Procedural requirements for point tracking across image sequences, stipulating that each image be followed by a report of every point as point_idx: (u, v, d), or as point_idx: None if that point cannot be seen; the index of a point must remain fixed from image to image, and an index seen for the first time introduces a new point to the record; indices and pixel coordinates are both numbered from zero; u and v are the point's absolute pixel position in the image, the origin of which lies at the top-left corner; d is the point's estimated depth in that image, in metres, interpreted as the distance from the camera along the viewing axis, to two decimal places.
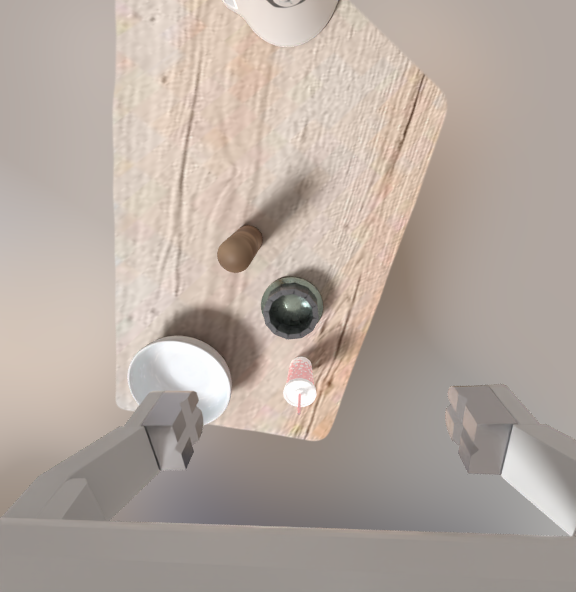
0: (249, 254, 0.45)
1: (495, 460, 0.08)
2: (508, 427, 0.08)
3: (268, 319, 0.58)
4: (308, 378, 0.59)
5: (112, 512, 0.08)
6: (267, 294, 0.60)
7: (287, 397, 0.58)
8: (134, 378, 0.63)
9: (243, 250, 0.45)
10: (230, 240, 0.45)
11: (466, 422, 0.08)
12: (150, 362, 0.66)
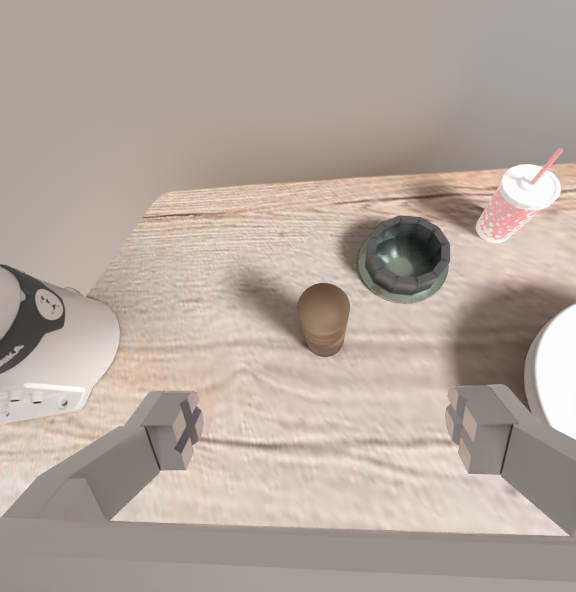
0: (314, 286, 0.31)
1: (495, 460, 0.08)
2: (508, 427, 0.08)
3: (428, 274, 0.38)
4: (497, 189, 0.38)
5: (112, 512, 0.08)
6: (395, 296, 0.41)
7: (549, 198, 0.35)
8: None
9: (311, 295, 0.31)
10: (301, 315, 0.30)
11: (466, 422, 0.08)
12: None
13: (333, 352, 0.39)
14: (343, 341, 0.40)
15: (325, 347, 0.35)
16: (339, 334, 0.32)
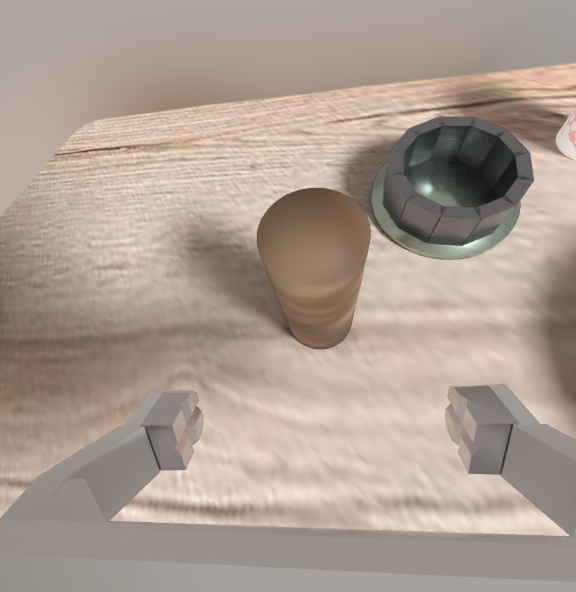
0: (294, 195, 0.15)
1: (495, 460, 0.08)
2: (508, 427, 0.08)
3: (498, 202, 0.22)
4: None
5: (112, 512, 0.08)
6: (436, 247, 0.25)
7: None
8: None
9: (286, 212, 0.14)
10: (263, 253, 0.14)
11: (466, 422, 0.08)
12: None
13: (335, 341, 0.22)
14: (351, 322, 0.23)
15: (320, 329, 0.19)
16: (347, 298, 0.16)
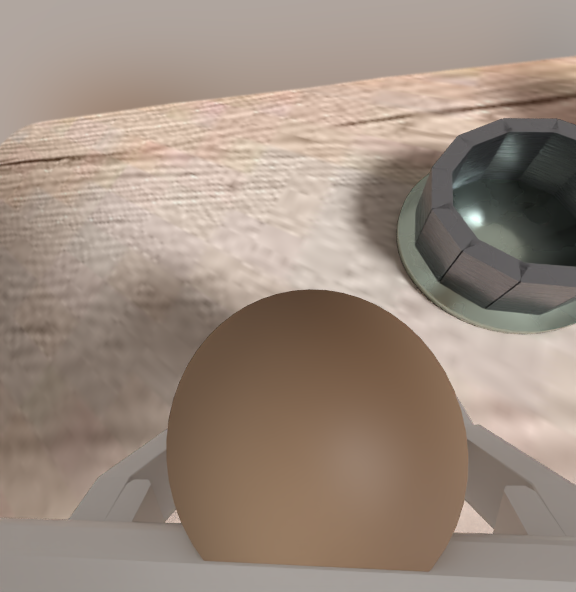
0: (266, 308, 0.06)
1: None
2: None
3: None
4: None
5: (167, 514, 0.08)
6: (499, 316, 0.17)
7: None
8: None
9: (244, 356, 0.06)
10: (178, 482, 0.05)
11: None
12: None
13: None
14: None
15: None
16: None
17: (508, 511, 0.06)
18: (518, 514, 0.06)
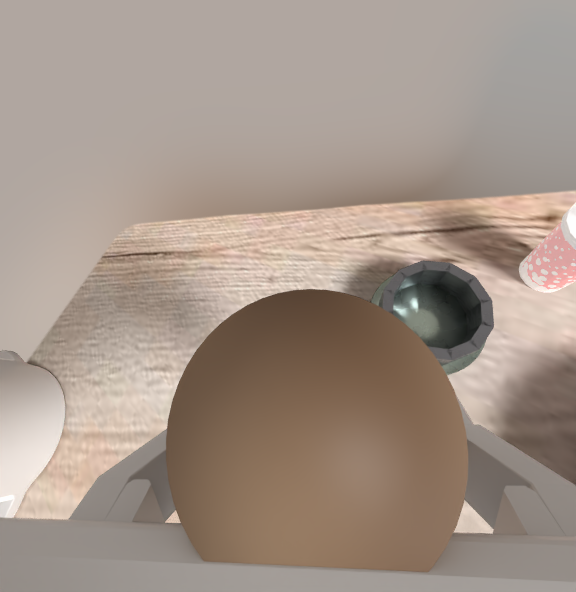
0: (266, 308, 0.06)
1: None
2: None
3: (465, 345, 0.29)
4: (557, 229, 0.28)
5: (167, 514, 0.08)
6: None
7: None
8: None
9: (244, 356, 0.06)
10: (178, 482, 0.05)
11: None
12: None
13: None
14: None
15: None
16: None
17: (508, 511, 0.06)
18: (518, 514, 0.06)
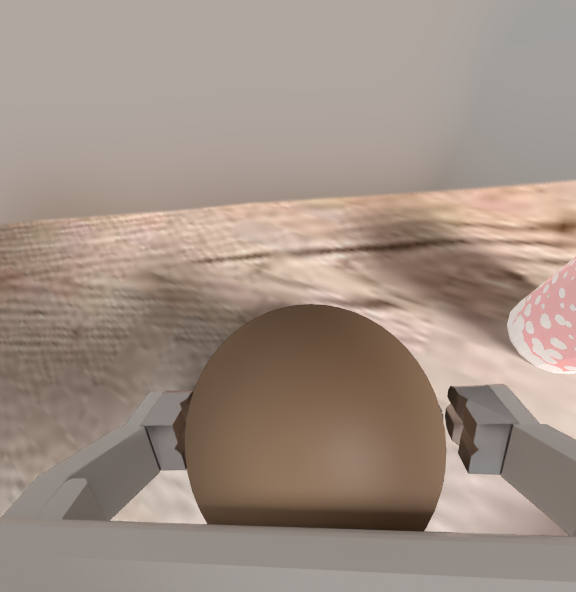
0: (271, 321, 0.07)
1: (495, 460, 0.08)
2: (508, 427, 0.08)
3: None
4: None
5: (112, 512, 0.08)
6: None
7: None
8: None
9: (252, 364, 0.07)
10: (196, 474, 0.06)
11: (465, 422, 0.08)
12: None
13: None
14: None
15: None
16: None
17: None
18: None
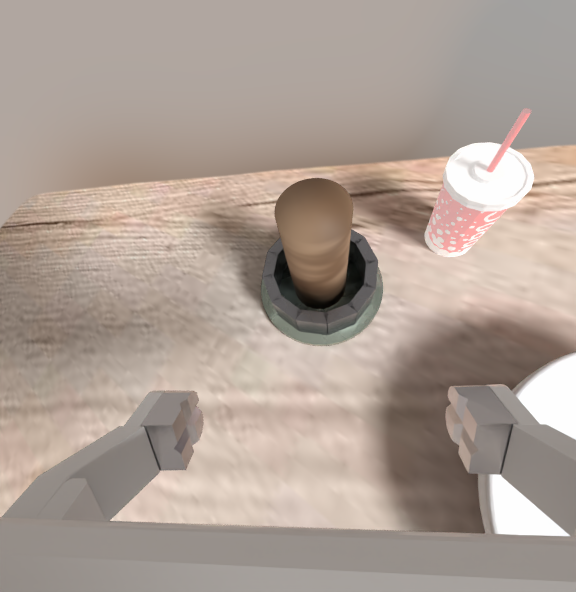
0: (300, 183, 0.21)
1: (495, 460, 0.08)
2: (508, 427, 0.08)
3: (343, 308, 0.26)
4: None
5: (112, 512, 0.08)
6: (306, 335, 0.29)
7: (516, 193, 0.23)
8: None
9: (295, 195, 0.20)
10: (279, 223, 0.20)
11: (465, 422, 0.08)
12: None
13: (331, 300, 0.29)
14: (344, 287, 0.29)
15: (319, 286, 0.25)
16: (338, 257, 0.22)
17: None
18: None
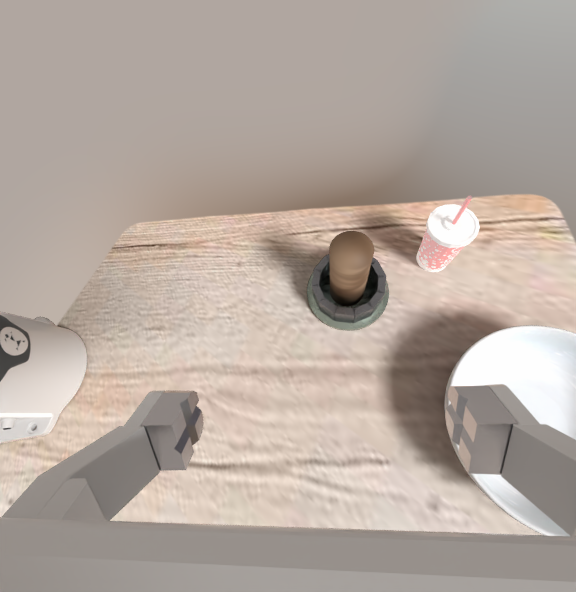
0: (343, 234, 0.36)
1: (495, 460, 0.08)
2: (508, 427, 0.08)
3: (365, 306, 0.42)
4: None
5: (112, 512, 0.08)
6: (339, 323, 0.45)
7: (468, 237, 0.38)
8: None
9: (340, 241, 0.36)
10: (332, 257, 0.36)
11: (466, 422, 0.08)
12: None
13: (355, 301, 0.44)
14: None
15: (350, 292, 0.41)
16: (364, 275, 0.37)
17: None
18: None
